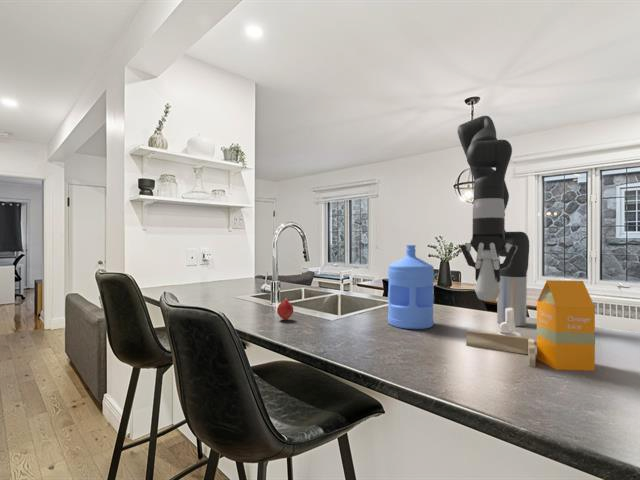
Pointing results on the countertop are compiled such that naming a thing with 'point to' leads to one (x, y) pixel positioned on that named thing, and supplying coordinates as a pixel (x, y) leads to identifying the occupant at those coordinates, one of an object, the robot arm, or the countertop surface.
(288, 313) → the onion
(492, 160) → the robot arm
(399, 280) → the water jug
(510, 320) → the hook
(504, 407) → the countertop surface
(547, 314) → the orange juice
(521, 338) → the beige l-shaped block
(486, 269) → the salt shaker
